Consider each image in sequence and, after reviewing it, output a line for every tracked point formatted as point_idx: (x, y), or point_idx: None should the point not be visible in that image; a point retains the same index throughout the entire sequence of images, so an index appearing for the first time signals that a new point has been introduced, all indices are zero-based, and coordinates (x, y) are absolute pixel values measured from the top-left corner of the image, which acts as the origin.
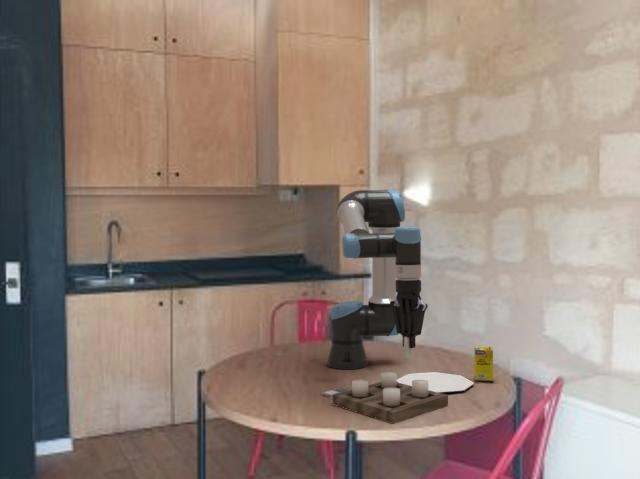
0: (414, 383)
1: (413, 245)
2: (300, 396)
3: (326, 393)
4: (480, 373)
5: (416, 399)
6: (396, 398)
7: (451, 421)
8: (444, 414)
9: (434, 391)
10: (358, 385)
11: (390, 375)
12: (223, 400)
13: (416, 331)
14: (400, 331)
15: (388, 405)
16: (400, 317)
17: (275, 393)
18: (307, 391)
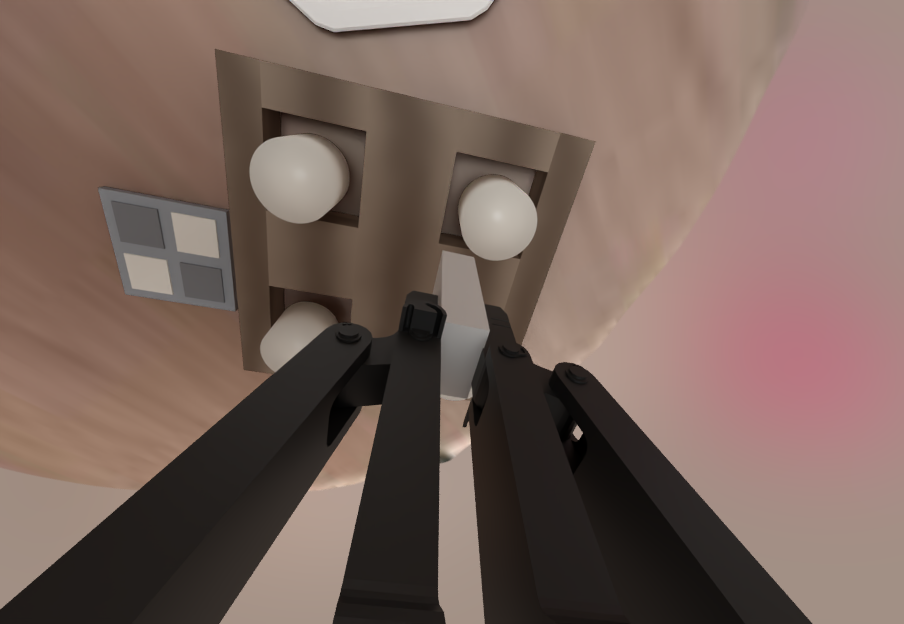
0: (487, 259)
1: None
2: (109, 339)
3: (147, 290)
4: None
5: (503, 268)
6: None
7: (632, 293)
8: (596, 247)
9: (474, 3)
10: None
11: (319, 203)
12: (26, 461)
13: (580, 458)
14: (361, 399)
15: None
16: (261, 508)
17: (25, 356)
18: (59, 284)
